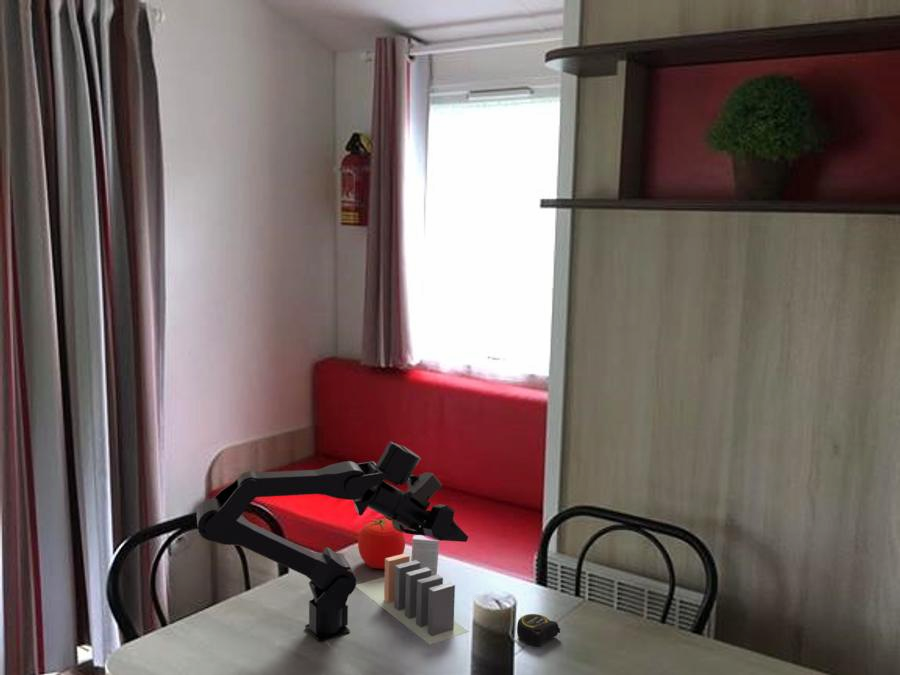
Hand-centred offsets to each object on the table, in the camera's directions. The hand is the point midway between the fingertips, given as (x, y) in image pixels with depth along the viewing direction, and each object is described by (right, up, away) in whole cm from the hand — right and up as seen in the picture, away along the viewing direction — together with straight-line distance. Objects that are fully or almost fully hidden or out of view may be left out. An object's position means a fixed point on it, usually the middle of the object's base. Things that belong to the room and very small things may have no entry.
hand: (455, 537), depth 160 cm
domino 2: (-10, -15, +4) cm, 19 cm away
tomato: (-17, -13, +24) cm, 32 cm away
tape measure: (+16, -18, -7) cm, 25 cm away
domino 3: (-8, -16, +1) cm, 17 cm away
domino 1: (-12, -15, +7) cm, 20 cm away
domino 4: (-5, -16, -2) cm, 17 cm away
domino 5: (-3, -17, -5) cm, 18 cm away
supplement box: (-7, -14, +14) cm, 21 cm away
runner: (-10, -15, +4) cm, 19 cm away
